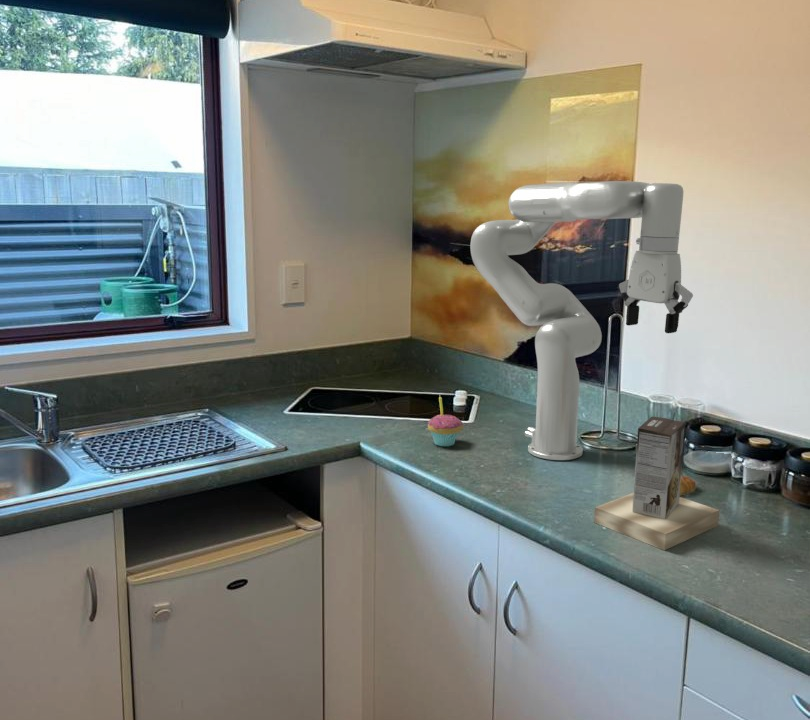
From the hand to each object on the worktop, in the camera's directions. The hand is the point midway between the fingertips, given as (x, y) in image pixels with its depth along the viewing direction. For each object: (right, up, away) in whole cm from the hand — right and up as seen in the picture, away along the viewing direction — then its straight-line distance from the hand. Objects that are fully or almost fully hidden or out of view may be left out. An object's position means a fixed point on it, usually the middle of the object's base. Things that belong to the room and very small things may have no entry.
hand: (650, 328), depth 166 cm
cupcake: (-41, -27, +29) cm, 57 cm away
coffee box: (-5, -34, -18) cm, 39 cm away
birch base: (-5, -37, -18) cm, 41 cm away
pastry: (+4, -34, -1) cm, 34 cm away
